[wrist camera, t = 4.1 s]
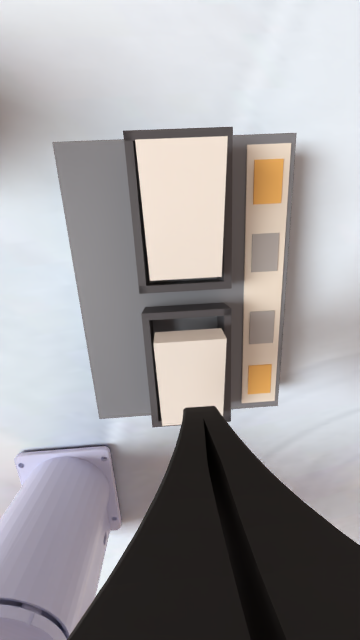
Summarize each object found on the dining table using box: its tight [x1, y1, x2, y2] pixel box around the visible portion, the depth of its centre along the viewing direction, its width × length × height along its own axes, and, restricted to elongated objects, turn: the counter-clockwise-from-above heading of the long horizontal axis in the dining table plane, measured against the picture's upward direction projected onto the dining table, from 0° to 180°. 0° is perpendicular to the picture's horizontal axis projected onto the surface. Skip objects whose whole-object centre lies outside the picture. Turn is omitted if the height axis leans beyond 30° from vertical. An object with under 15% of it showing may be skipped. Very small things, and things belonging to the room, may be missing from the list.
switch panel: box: [53, 127, 296, 427], centre depth 14 cm, size 17×13×4 cm
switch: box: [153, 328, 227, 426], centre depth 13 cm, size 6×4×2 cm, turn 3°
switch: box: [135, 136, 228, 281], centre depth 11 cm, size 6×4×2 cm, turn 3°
